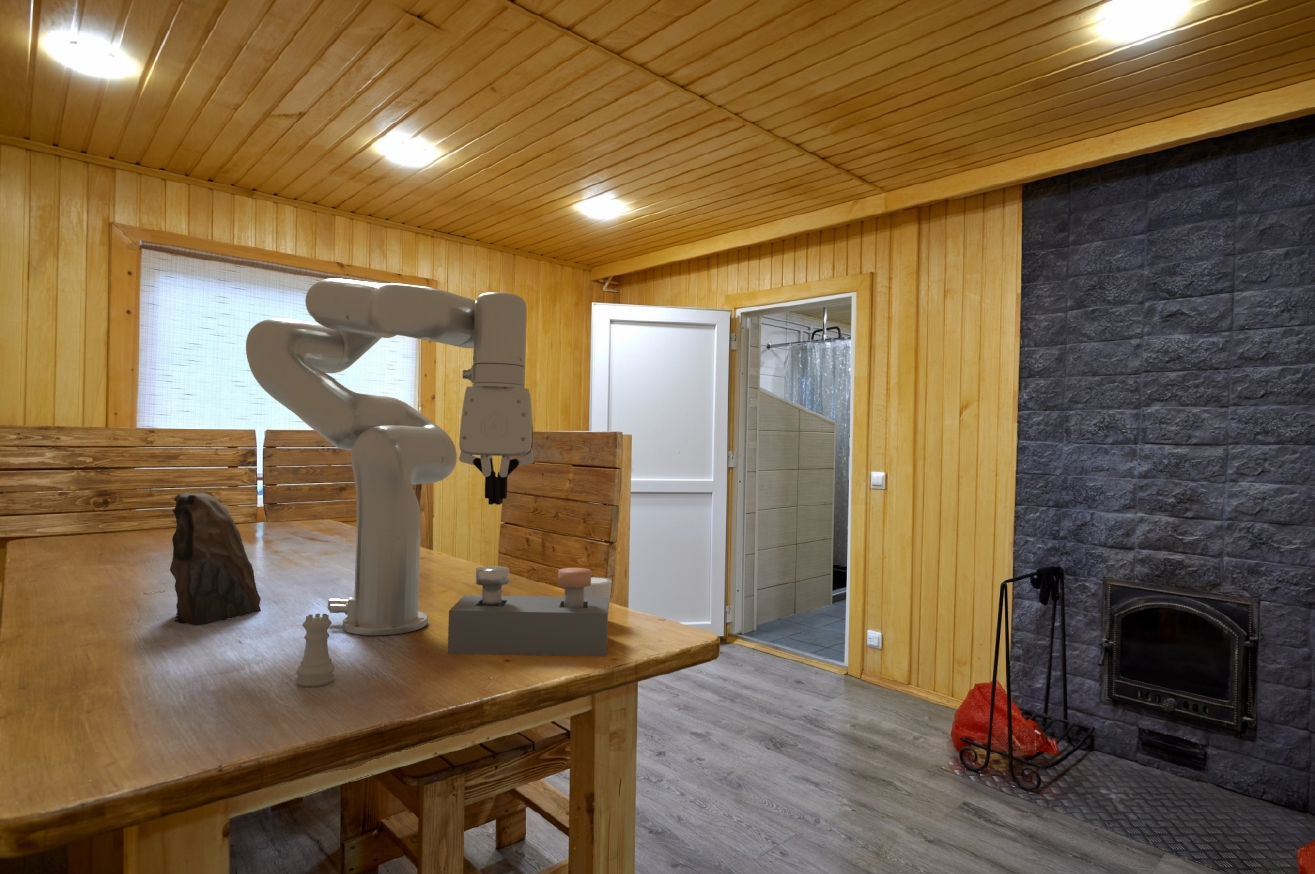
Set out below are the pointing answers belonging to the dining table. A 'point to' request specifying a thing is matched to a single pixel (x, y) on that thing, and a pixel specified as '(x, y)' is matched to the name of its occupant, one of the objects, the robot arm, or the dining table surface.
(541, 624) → the press console
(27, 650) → the dining table surface
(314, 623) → the rook chess piece
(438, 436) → the robot arm
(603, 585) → the shot glass
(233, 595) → the brown rock
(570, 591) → the terracotta plug
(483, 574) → the steel plug
